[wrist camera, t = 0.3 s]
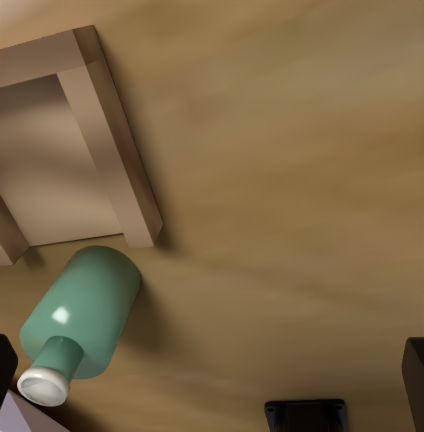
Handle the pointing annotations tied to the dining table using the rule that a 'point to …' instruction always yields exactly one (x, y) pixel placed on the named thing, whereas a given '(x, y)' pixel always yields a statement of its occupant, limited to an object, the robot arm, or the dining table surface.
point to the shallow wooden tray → (67, 149)
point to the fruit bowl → (25, 417)
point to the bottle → (77, 323)
